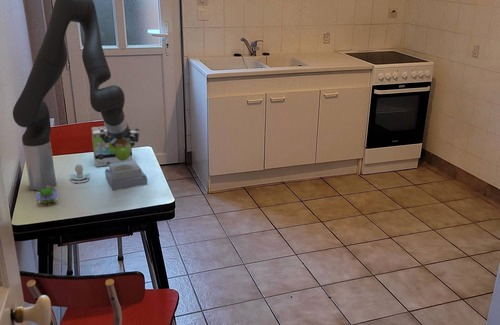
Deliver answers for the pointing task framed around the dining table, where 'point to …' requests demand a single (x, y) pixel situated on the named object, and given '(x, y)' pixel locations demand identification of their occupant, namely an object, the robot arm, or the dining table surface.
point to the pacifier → (79, 175)
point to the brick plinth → (126, 181)
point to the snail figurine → (122, 149)
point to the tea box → (105, 149)
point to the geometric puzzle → (46, 195)
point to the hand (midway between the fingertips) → (123, 144)
